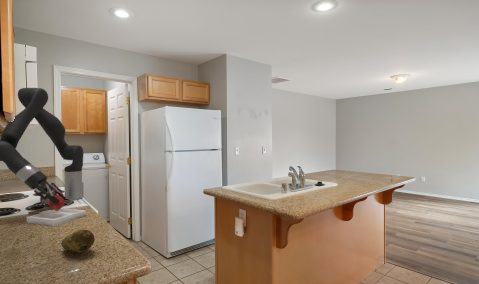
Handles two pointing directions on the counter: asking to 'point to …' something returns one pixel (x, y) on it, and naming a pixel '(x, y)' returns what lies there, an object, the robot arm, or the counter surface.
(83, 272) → the counter surface
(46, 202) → the tin
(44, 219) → the tray
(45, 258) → the counter surface
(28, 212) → the collar
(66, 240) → the potato
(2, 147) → the robot arm
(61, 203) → the red rounded lump
